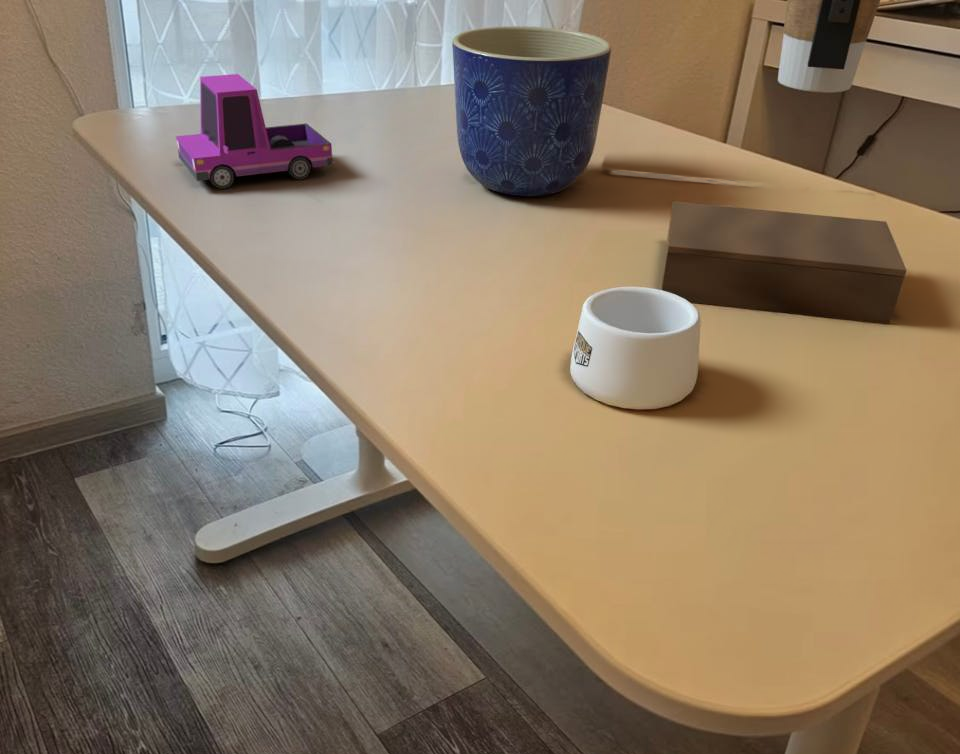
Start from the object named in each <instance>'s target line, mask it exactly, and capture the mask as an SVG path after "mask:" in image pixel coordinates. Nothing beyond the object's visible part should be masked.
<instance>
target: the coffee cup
mask: <svg viewBox="0 0 960 754" xmlns="http://www.w3.org/2000/svg"><path fill="white" fill-rule="evenodd" d="M821 1H822V0H786V7H785V15H784V24H783V38H782V44H781V45H782V46H781V52H780V60H779V67H778V75H777V82H778V83H779V84H780V85H782V86H785V87H787V88H791V89H794V90H800V91H805V92H812V93H813V92H814V93H841V92H846V91H849V90H850V89H851V88H852V86H853V82H854V80H855V76H856V75H857V74H856V73H857V71H858V67H859V64H860V61H861V58H862V54H863V52H864V48H865V45H866V42H867V40H868V38H869V35H870V32H871V28H872V26H873V23H874V20H875V17H876V15H877V11H878V9H879V5H880V3H881V0H861V1H860V5H859V9H858V13H857V18H856V22H855V26H854V30H853V34H852V38H851V42H850V46H849V51H848V55H847V59H846V63H845V67H844V70H843V69H830V68H816V67H808V65H807V64H808V60H809V55H810V51H811V46H812V42H813V37H814V33H815V28H816V24H817V19H818V15H819V10H820V5H821Z"/></svg>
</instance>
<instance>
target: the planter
mask: <svg viewBox="0 0 960 754" xmlns="http://www.w3.org/2000/svg"><path fill="white" fill-rule="evenodd" d="M451 44H452V62H453V63H452V64H453V78H454V79H453V81H454V101H455V119H456V134H457V144H458V149H459V152H460V156H461V159H462V162H463V164H464V166H465V168H466V169H467V171H468V172H469V174H470V175H471V176H472V178H474V179H475V181H477V182H478V183H479V184H481V185H482V186H483V187H485V188H487V189H489V190H491V191H494V192H496V193H500V194H505V195H510V196H515V197H517V196H518V197H539V196H540V197H541V196H546V195H551V194H552V195H553V194H555V193H558V192H561V191H563V190H565V189H567V188H568V187H571V186H572V185H573V184H574V183H576V182H577V180H579V178H580V177H581V176H582V175H583V174H584V172H585V171H586V169H587V167H588V165H589V163H590V162H591V158H592V156H593V154H594V150H595V146H596V141H597V136H598V131H599V125H600V120H601V119H600V118H601V114H602V107H603V101H604V96H605V95H604V94H605V89H606V83H607V78H608V71H609V66H610V59H611V55H612V45H611V43H610V42H609V41H607V40H606V39H604V38H602V37H600V36H597V35H595V34H594V35H593V34H590V33H586V32H582V31H577V30H571V29H563V28H556V27H546V26H531V25H530V26H526V25H525V26H524V25H509V26H508V25H507V26H491V27H490V26H488V27H481V28H475V29H470V30H465V31H462V32H460V33H458V34H456V35H455V36H454V37H453V38H452V41H451Z"/></svg>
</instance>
